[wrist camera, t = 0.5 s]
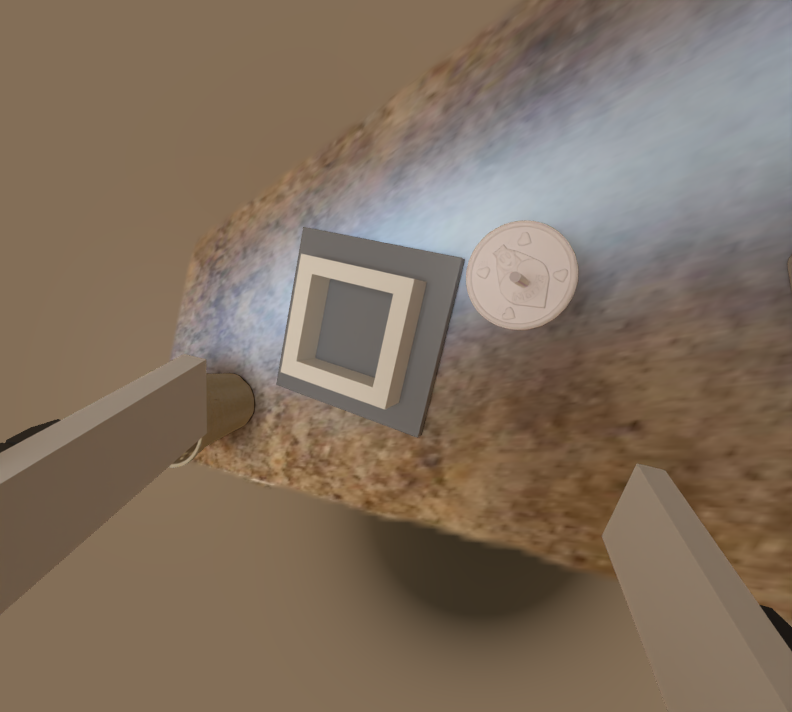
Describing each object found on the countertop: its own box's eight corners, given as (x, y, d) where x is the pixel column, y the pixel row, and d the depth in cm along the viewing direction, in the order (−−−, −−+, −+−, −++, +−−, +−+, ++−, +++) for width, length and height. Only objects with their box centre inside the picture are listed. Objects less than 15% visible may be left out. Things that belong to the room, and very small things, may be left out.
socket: (464, 259, 35) (451, 252, 31) (421, 434, 38) (405, 447, 34) (309, 228, 41) (283, 220, 37) (282, 383, 44) (255, 389, 40)
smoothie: (524, 342, 34) (493, 359, 21) (477, 280, 35) (420, 260, 22) (595, 292, 31) (611, 276, 18) (543, 227, 32) (522, 169, 19)
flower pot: (281, 421, 44) (217, 444, 36) (225, 454, 48) (156, 482, 40) (244, 344, 45) (174, 350, 37) (192, 382, 49) (118, 395, 41)
